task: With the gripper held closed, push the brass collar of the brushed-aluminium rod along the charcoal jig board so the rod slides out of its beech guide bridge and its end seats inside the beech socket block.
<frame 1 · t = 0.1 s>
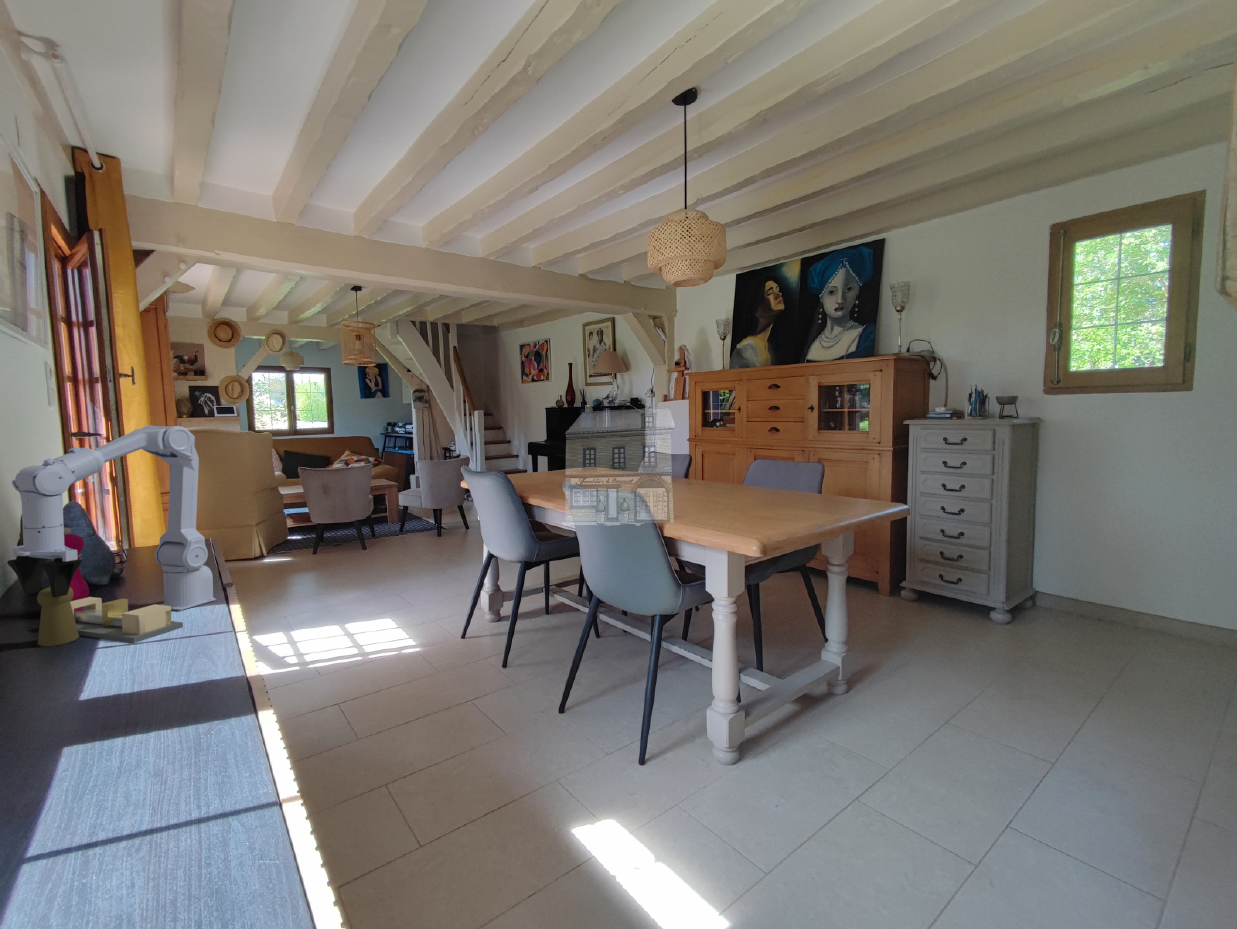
hand: (46, 594, 114), 10 cm above the sideboard, fingers open, 7 cm apart
cork: (58, 641, 116), on the sideboard
rod: (102, 610, 124), point 4 cm above the sideboard, slide at 0.0 cm
jig board: (105, 627, 124), on the sideboard
pepper mill: (68, 613, 134), on the sideboard
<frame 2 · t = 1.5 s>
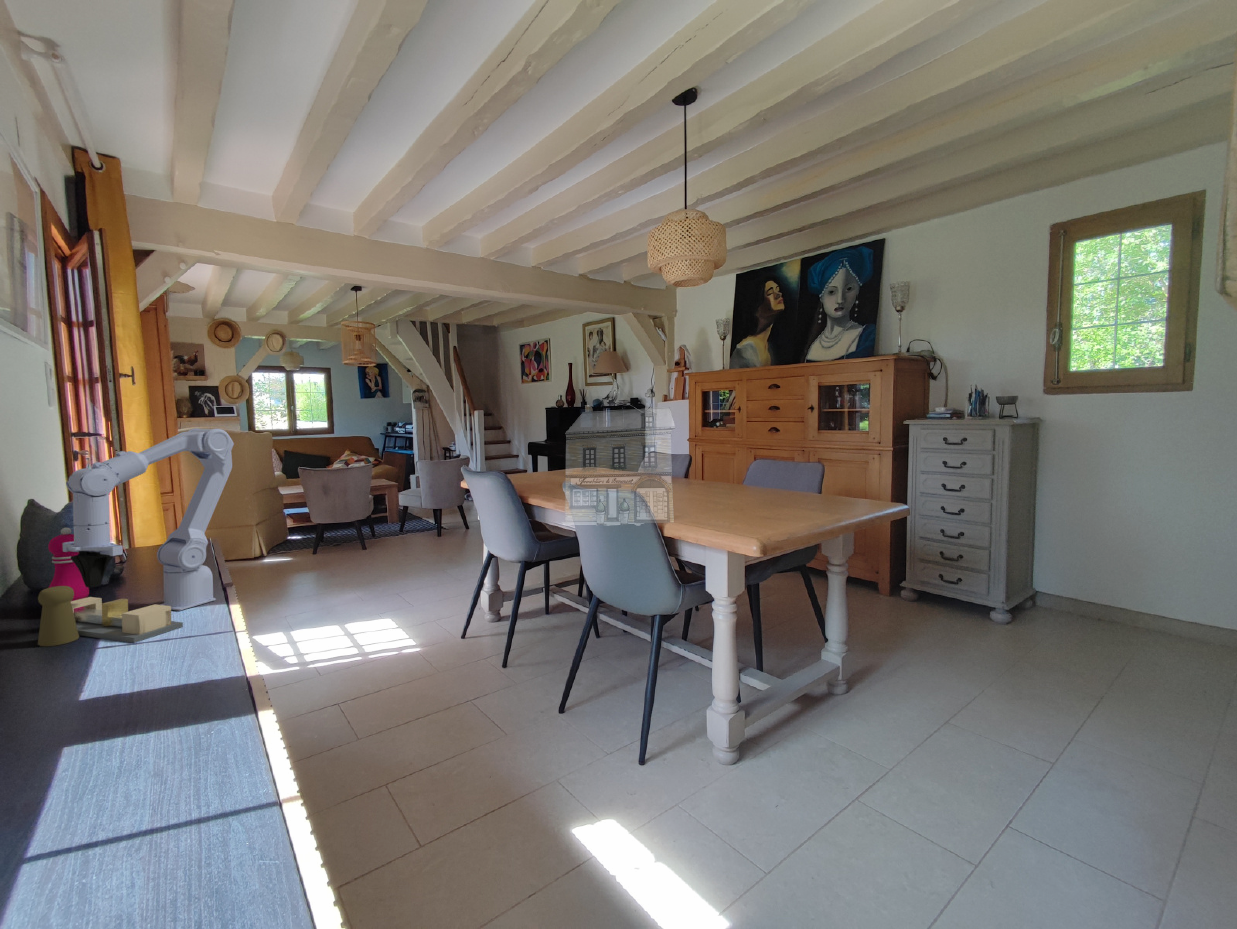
hand: (93, 586, 124), 9 cm above the sideboard, fingers closed
nothing on the sideboard moved.
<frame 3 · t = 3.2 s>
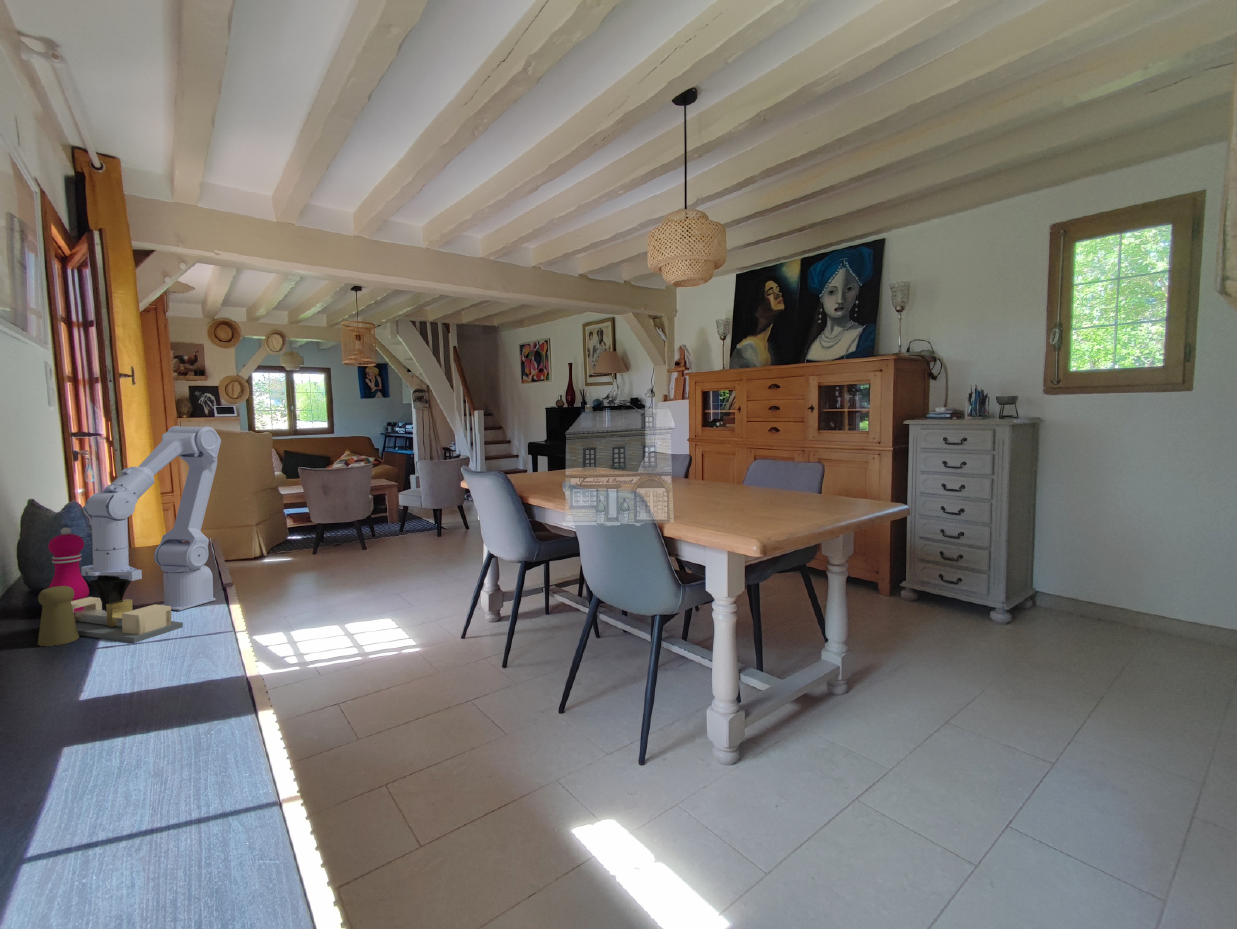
hand: (112, 610, 123), 4 cm above the sideboard, fingers closed
rod: (106, 611, 124), point 4 cm above the sideboard, slide at 1.3 cm, touching gripper
everything else where it was.
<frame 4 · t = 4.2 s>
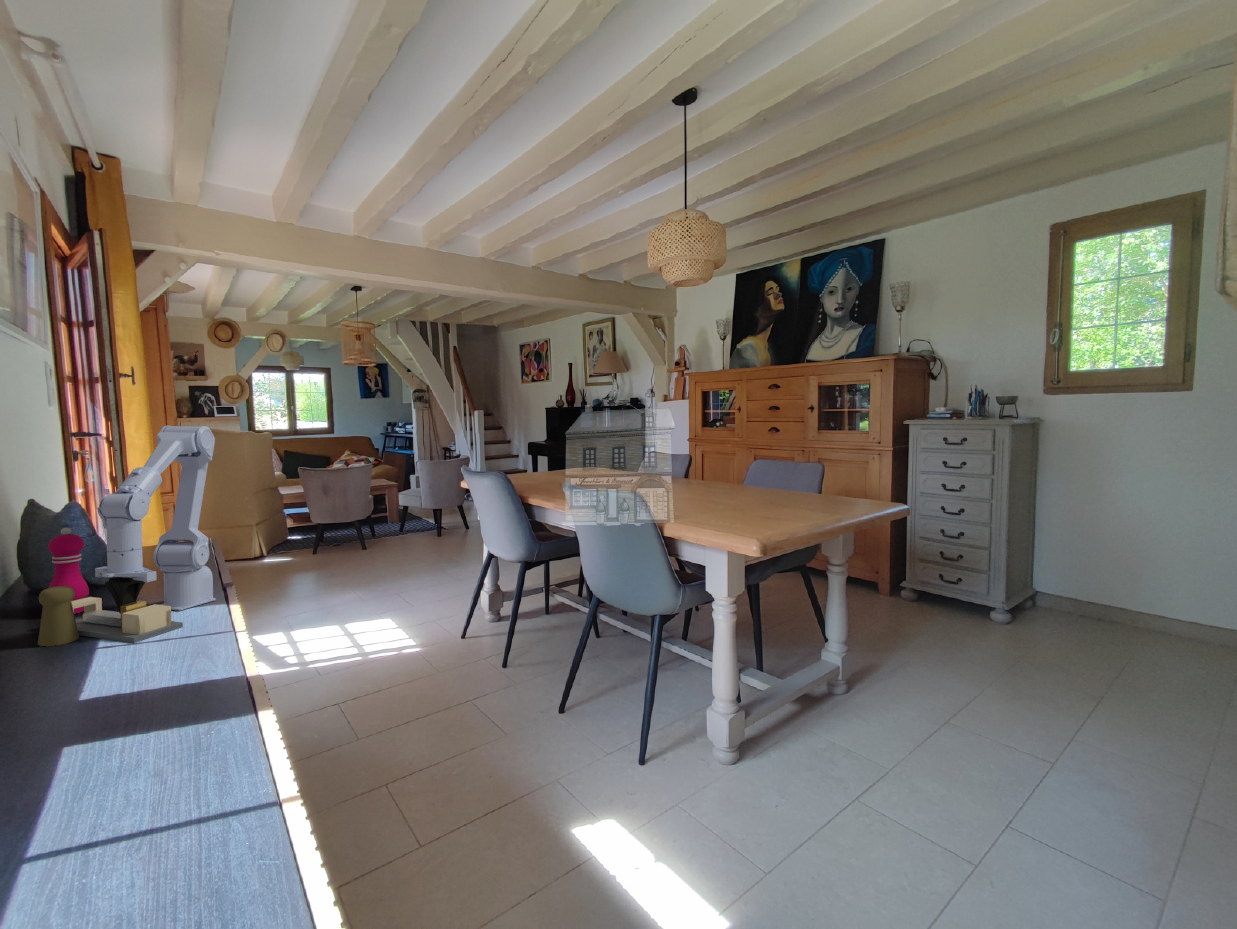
hand: (126, 612, 122), 4 cm above the sideboard, fingers closed
rod: (120, 612, 123), point 4 cm above the sideboard, slide at 5.2 cm, touching gripper
everything else where it was.
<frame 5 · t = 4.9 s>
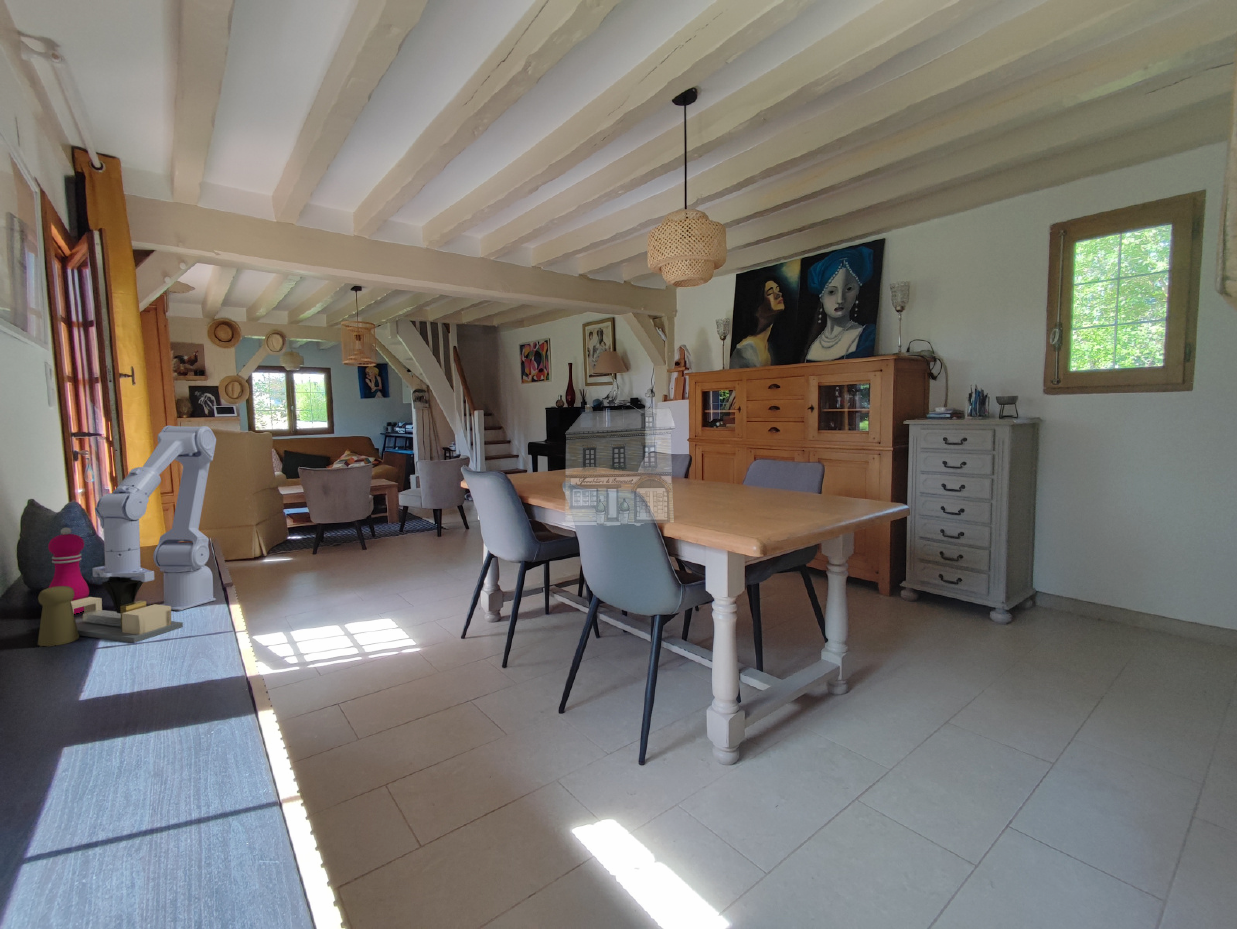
hand: (124, 612, 123), 4 cm above the sideboard, fingers closed
rod: (120, 612, 123), point 4 cm above the sideboard, slide at 5.2 cm
everything else where it was.
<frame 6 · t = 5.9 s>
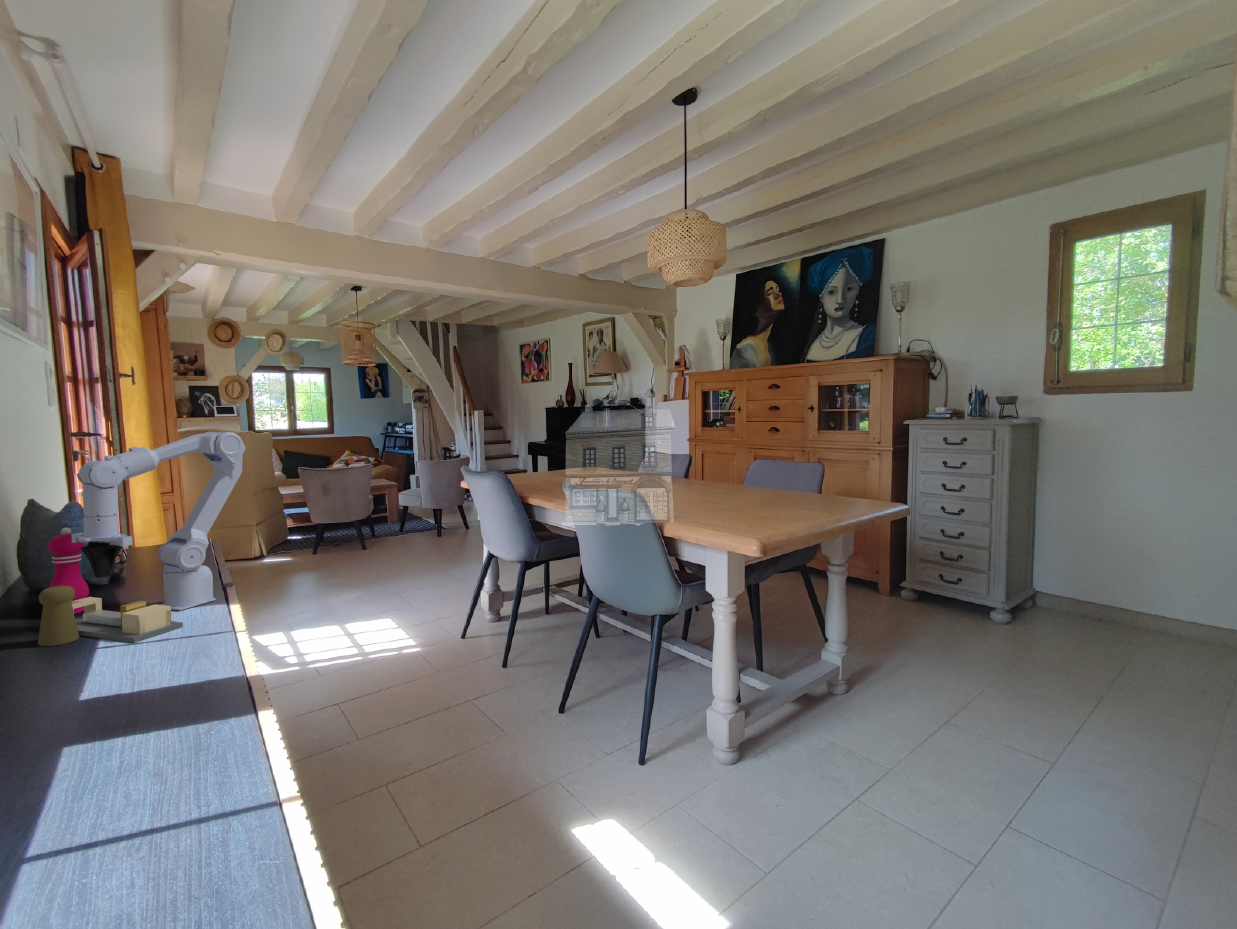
hand: (102, 576, 126), 10 cm above the sideboard, fingers closed
nothing on the sideboard moved.
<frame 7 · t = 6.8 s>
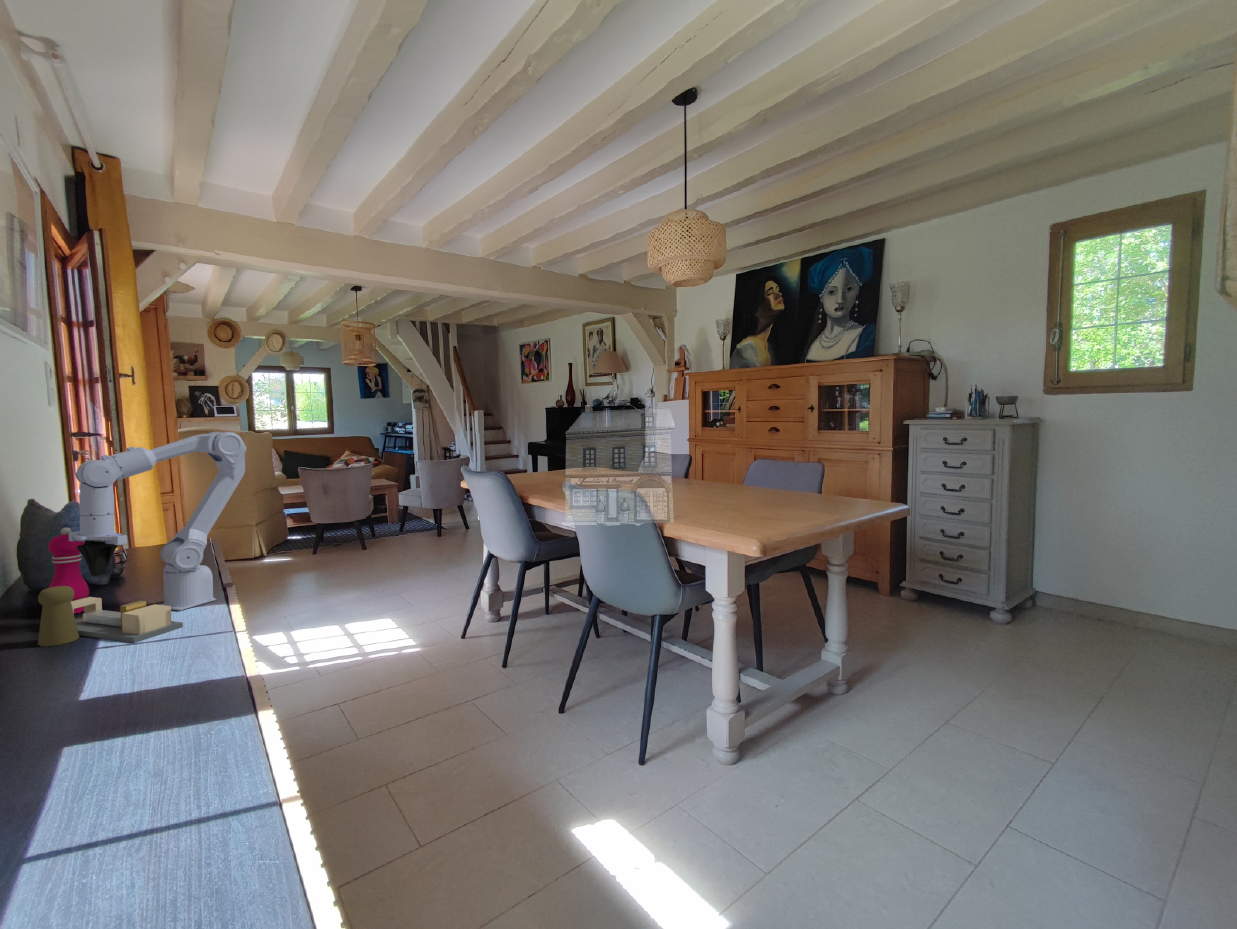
hand: (98, 574, 128), 10 cm above the sideboard, fingers closed
nothing on the sideboard moved.
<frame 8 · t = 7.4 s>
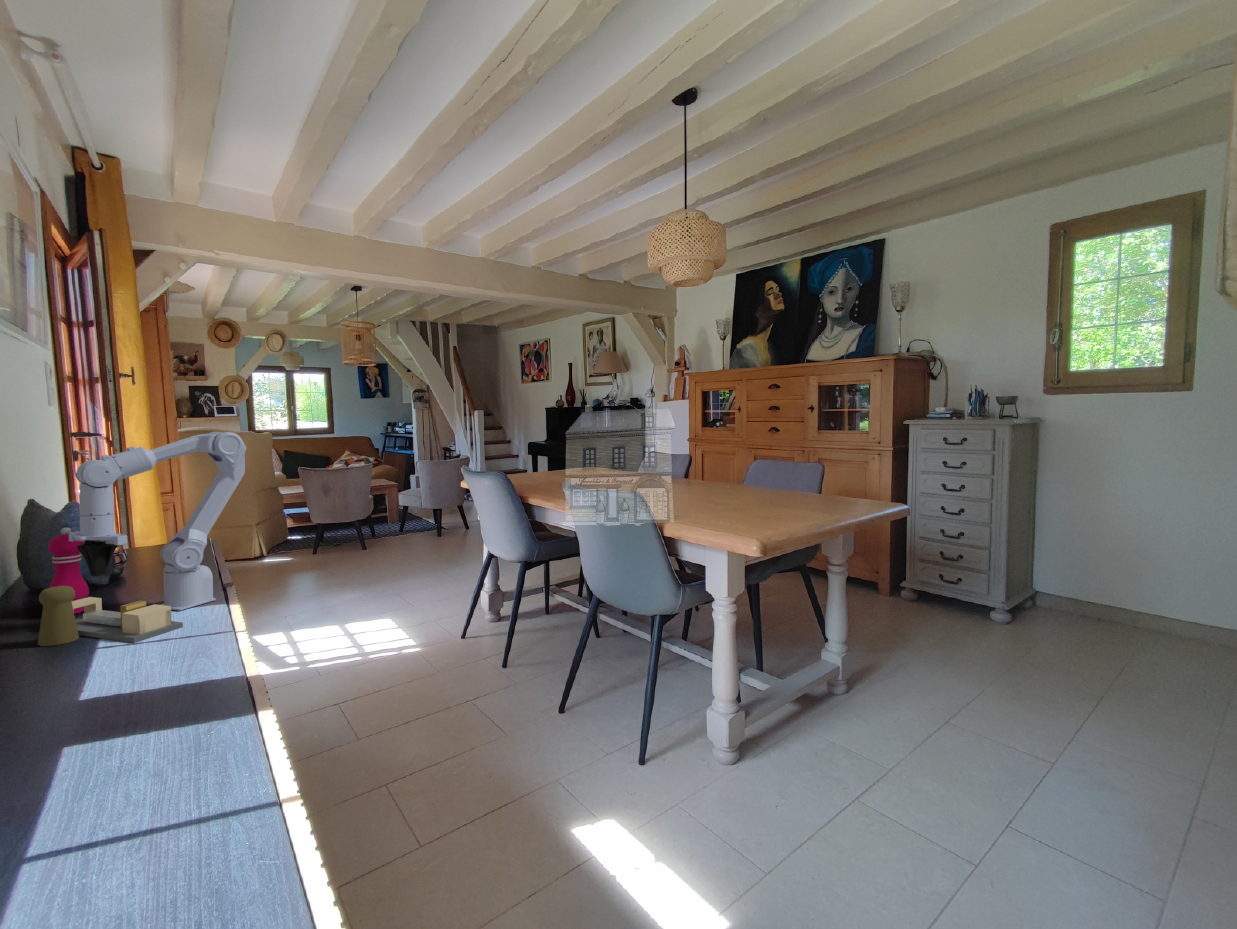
hand: (98, 574, 128), 10 cm above the sideboard, fingers closed
nothing on the sideboard moved.
at the end: rod slide at 5.2 cm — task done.
